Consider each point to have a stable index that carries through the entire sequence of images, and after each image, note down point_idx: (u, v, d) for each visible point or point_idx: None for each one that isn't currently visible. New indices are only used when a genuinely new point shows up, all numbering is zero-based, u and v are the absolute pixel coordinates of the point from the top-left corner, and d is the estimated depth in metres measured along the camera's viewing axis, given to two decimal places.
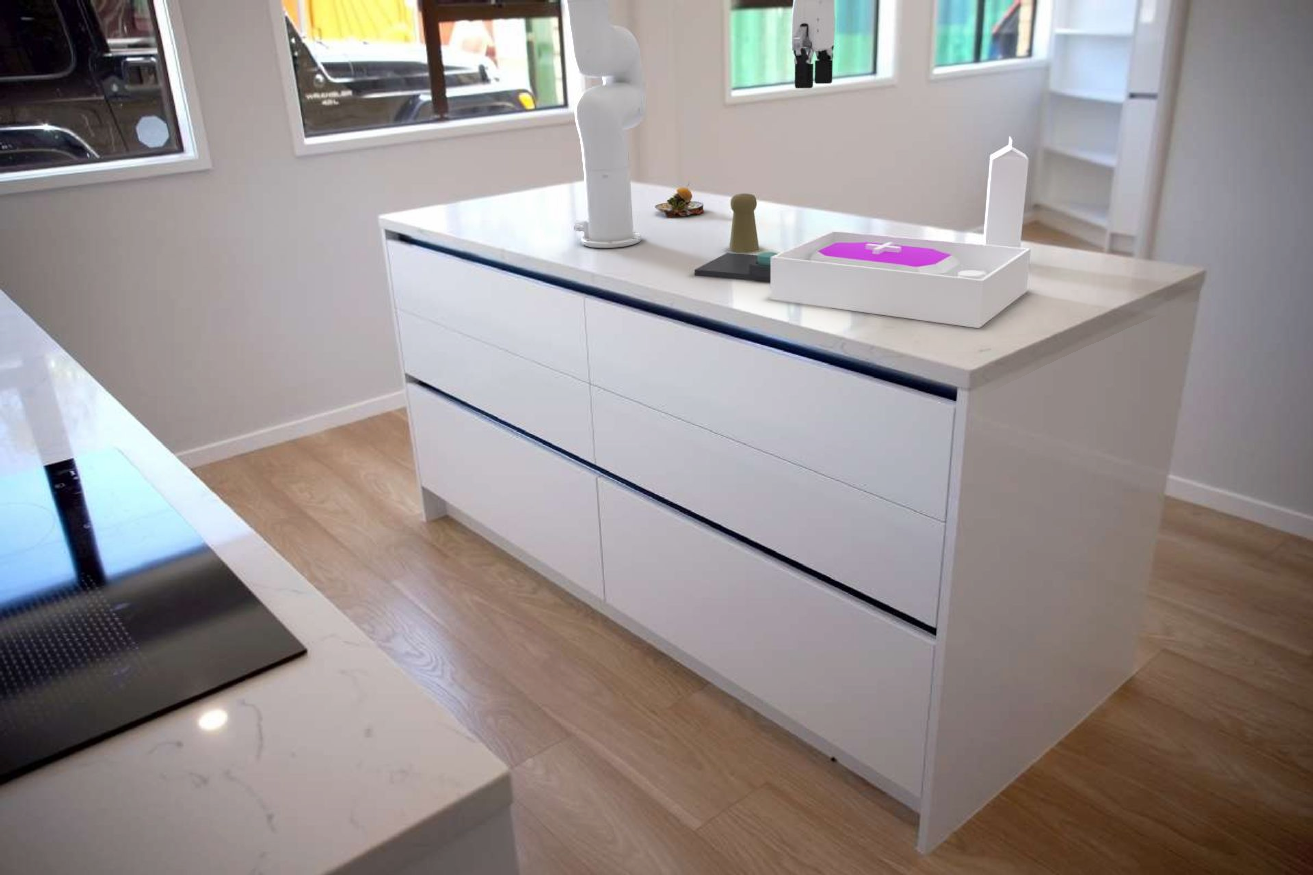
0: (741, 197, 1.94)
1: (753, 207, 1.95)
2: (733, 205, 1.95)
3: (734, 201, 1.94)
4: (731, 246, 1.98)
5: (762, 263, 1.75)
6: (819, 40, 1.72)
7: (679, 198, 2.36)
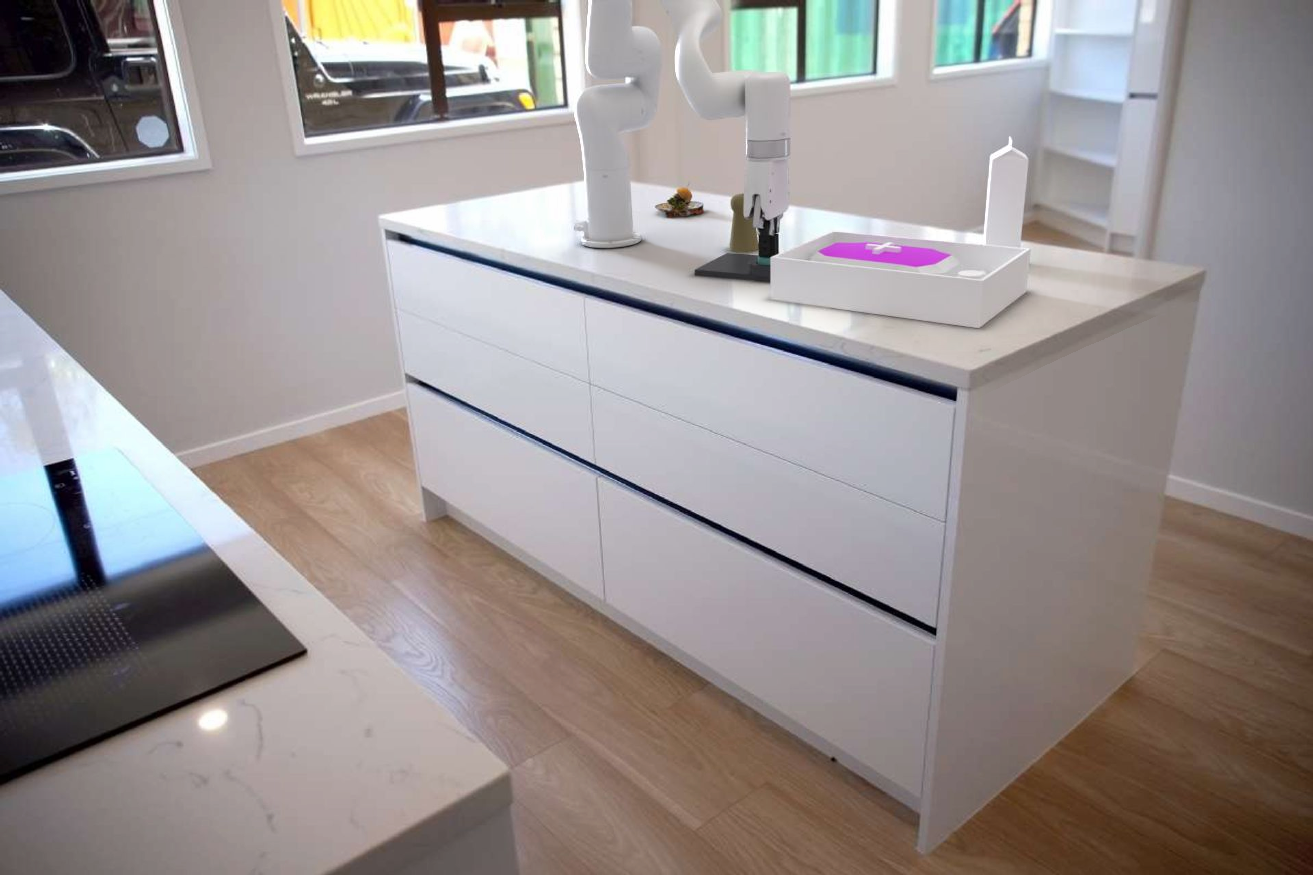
0: (741, 197, 1.94)
1: None
2: (733, 205, 1.95)
3: (734, 201, 1.94)
4: (731, 246, 1.98)
5: None
6: (772, 209, 1.69)
7: (679, 198, 2.36)
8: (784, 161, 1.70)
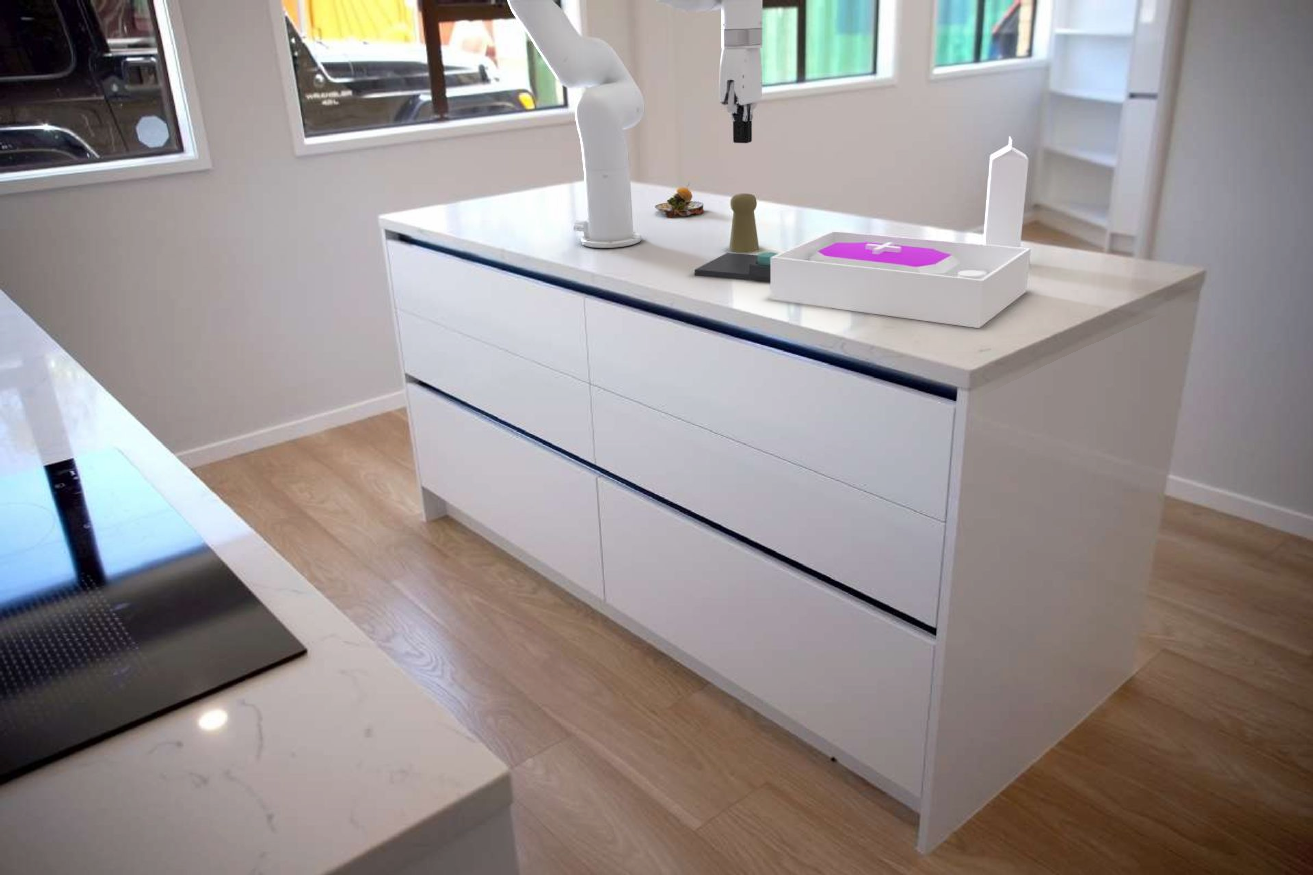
0: (741, 197, 1.94)
1: (753, 207, 1.95)
2: (733, 205, 1.95)
3: (734, 201, 1.94)
4: (731, 246, 1.98)
5: (762, 263, 1.75)
6: (745, 95, 1.84)
7: (679, 198, 2.36)
8: (757, 51, 1.85)
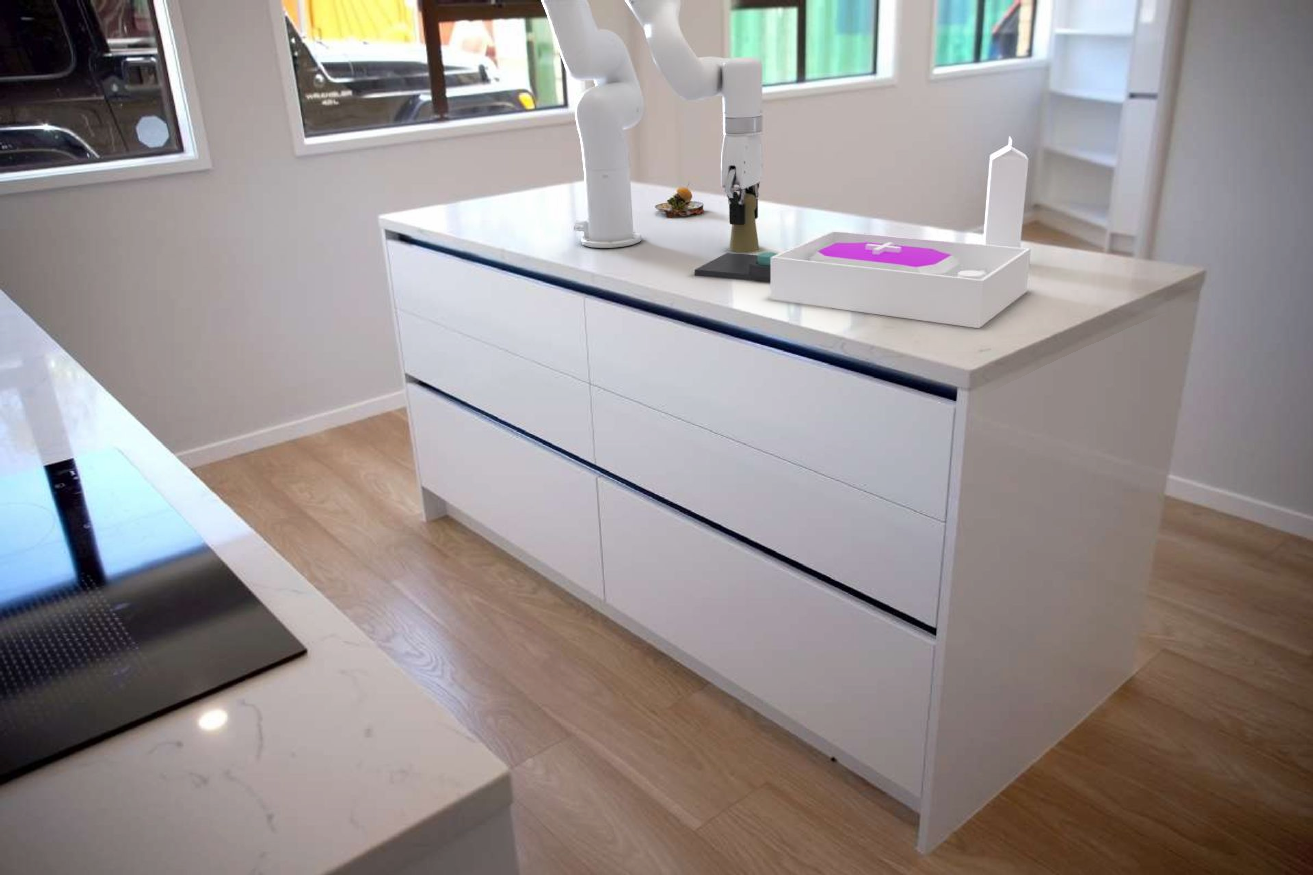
0: None
1: (753, 207, 1.95)
2: None
3: None
4: (731, 246, 1.98)
5: (762, 263, 1.75)
6: (746, 179, 1.90)
7: (679, 198, 2.36)
8: (757, 136, 1.91)
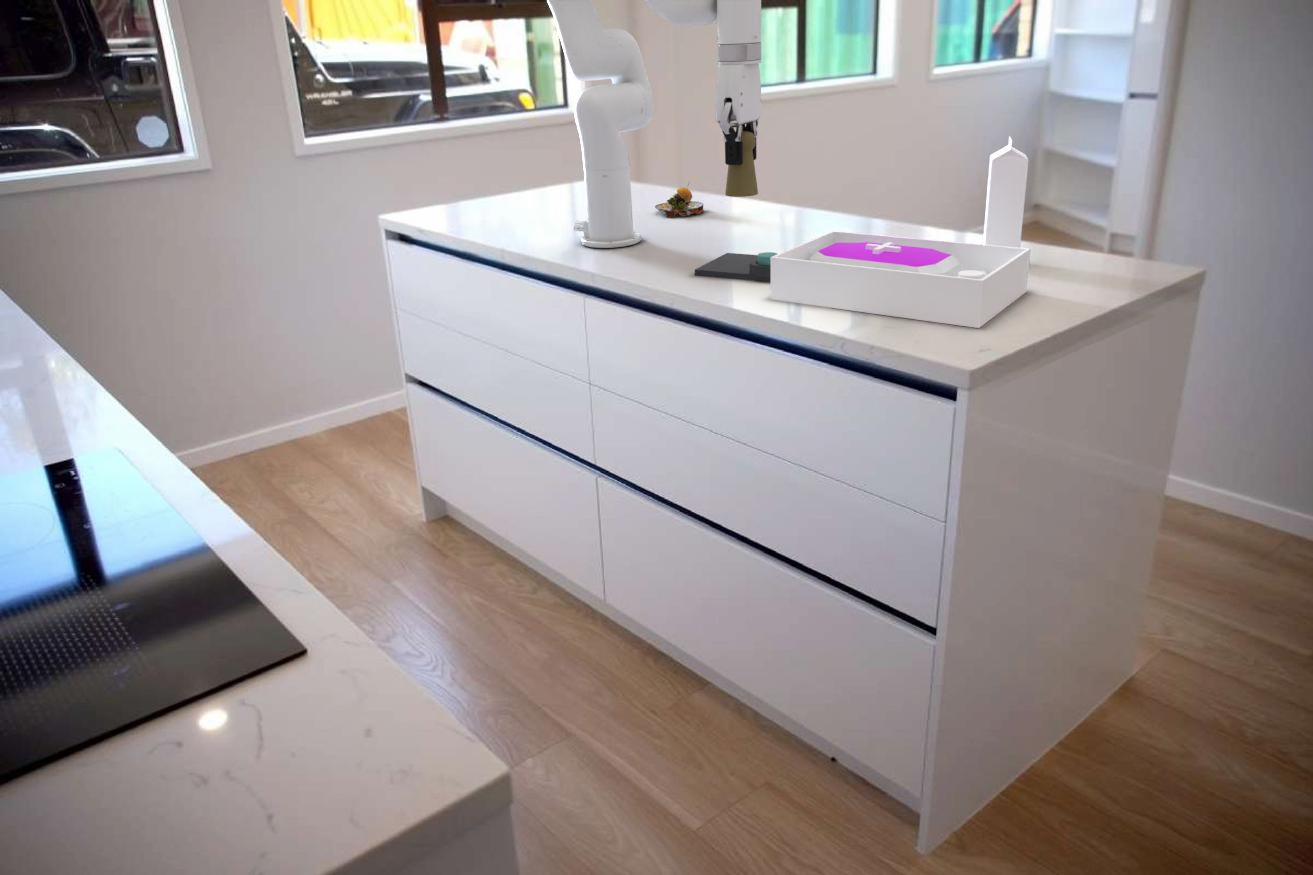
0: None
1: (751, 145, 1.77)
2: None
3: None
4: (727, 189, 1.81)
5: (762, 263, 1.75)
6: (743, 113, 1.73)
7: (679, 198, 2.36)
8: (755, 66, 1.73)
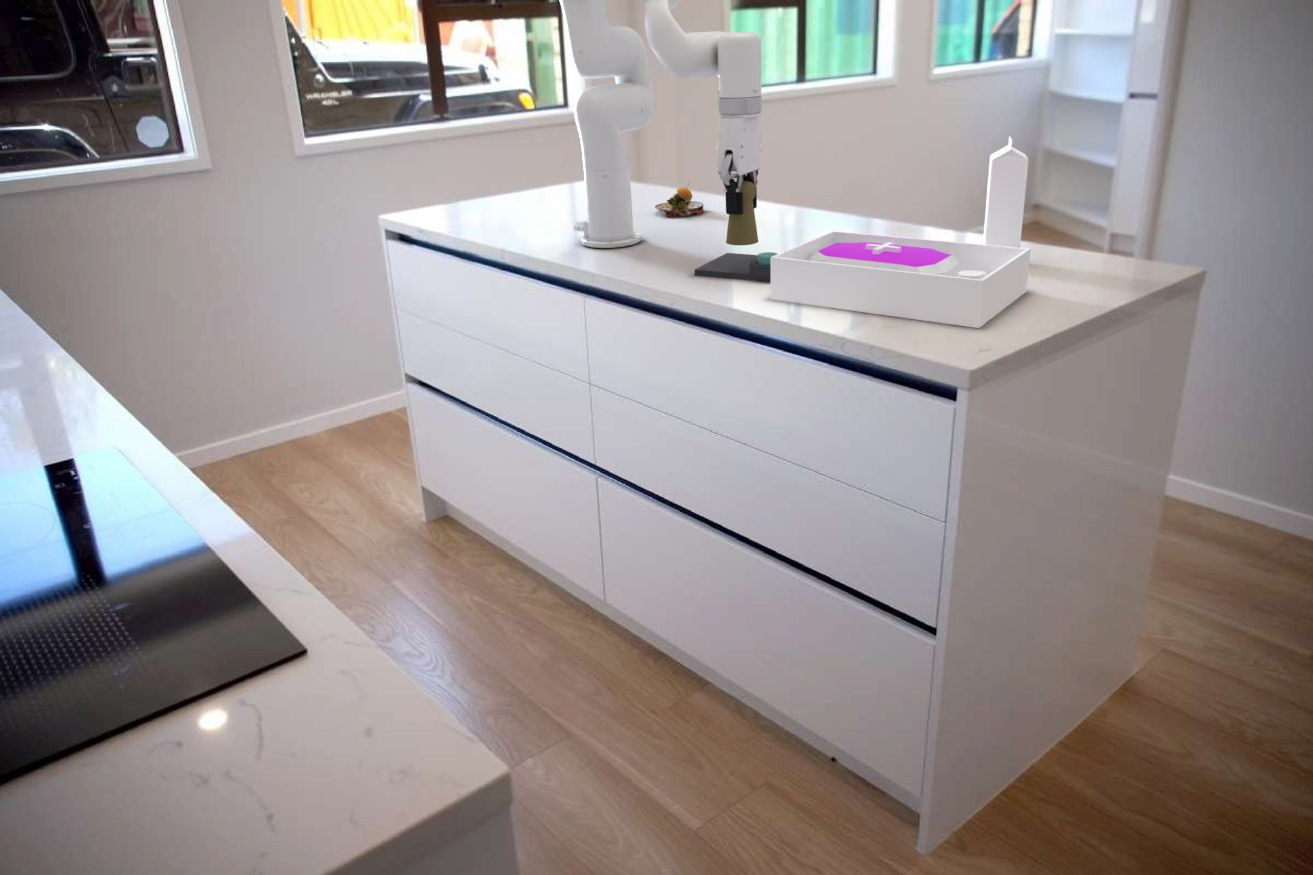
0: None
1: (752, 195, 1.80)
2: None
3: None
4: (728, 238, 1.84)
5: (762, 263, 1.75)
6: (744, 165, 1.76)
7: (679, 198, 2.36)
8: (756, 119, 1.76)
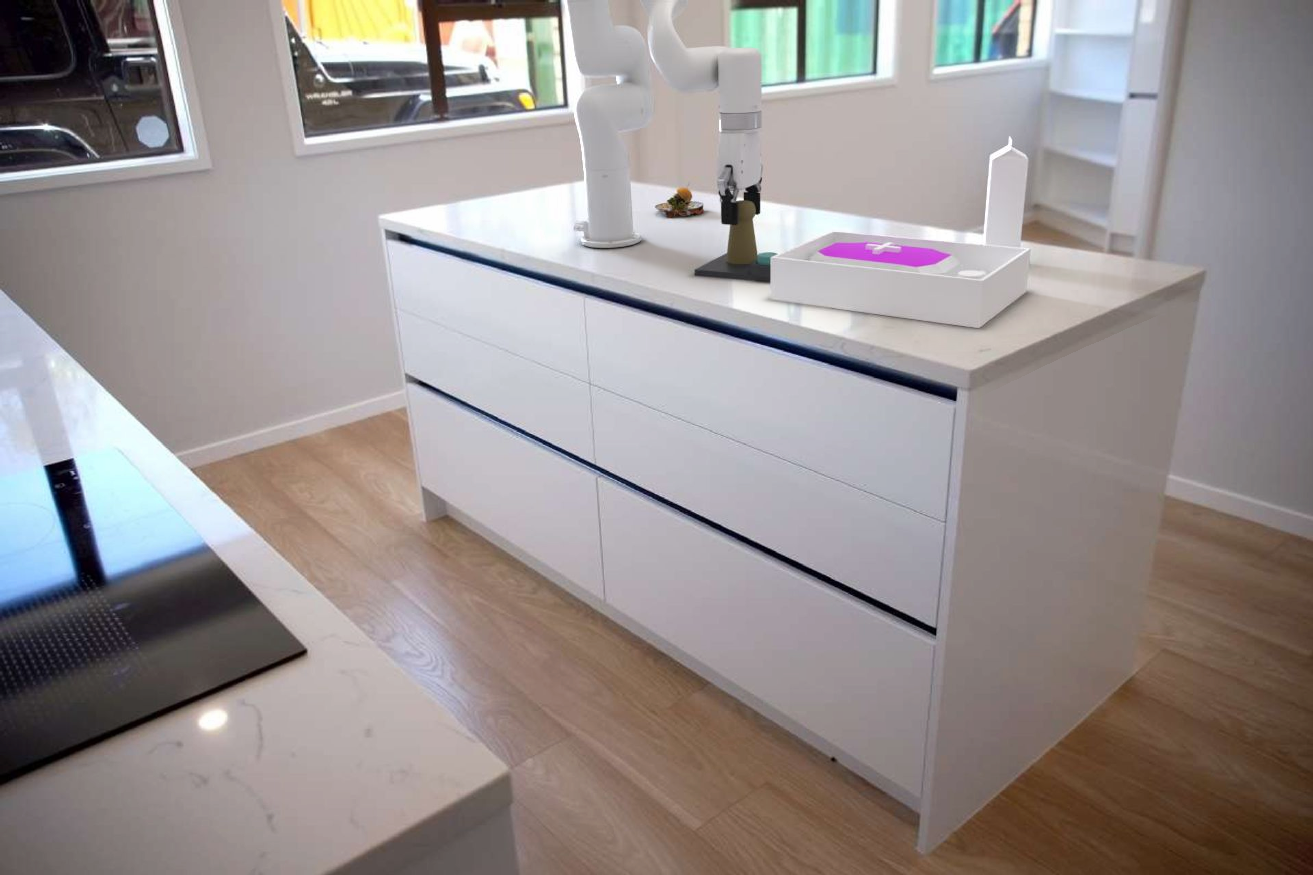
0: (739, 204, 1.81)
1: (752, 215, 1.81)
2: None
3: None
4: (728, 257, 1.85)
5: (762, 263, 1.75)
6: (744, 180, 1.77)
7: (679, 198, 2.36)
8: (756, 133, 1.77)
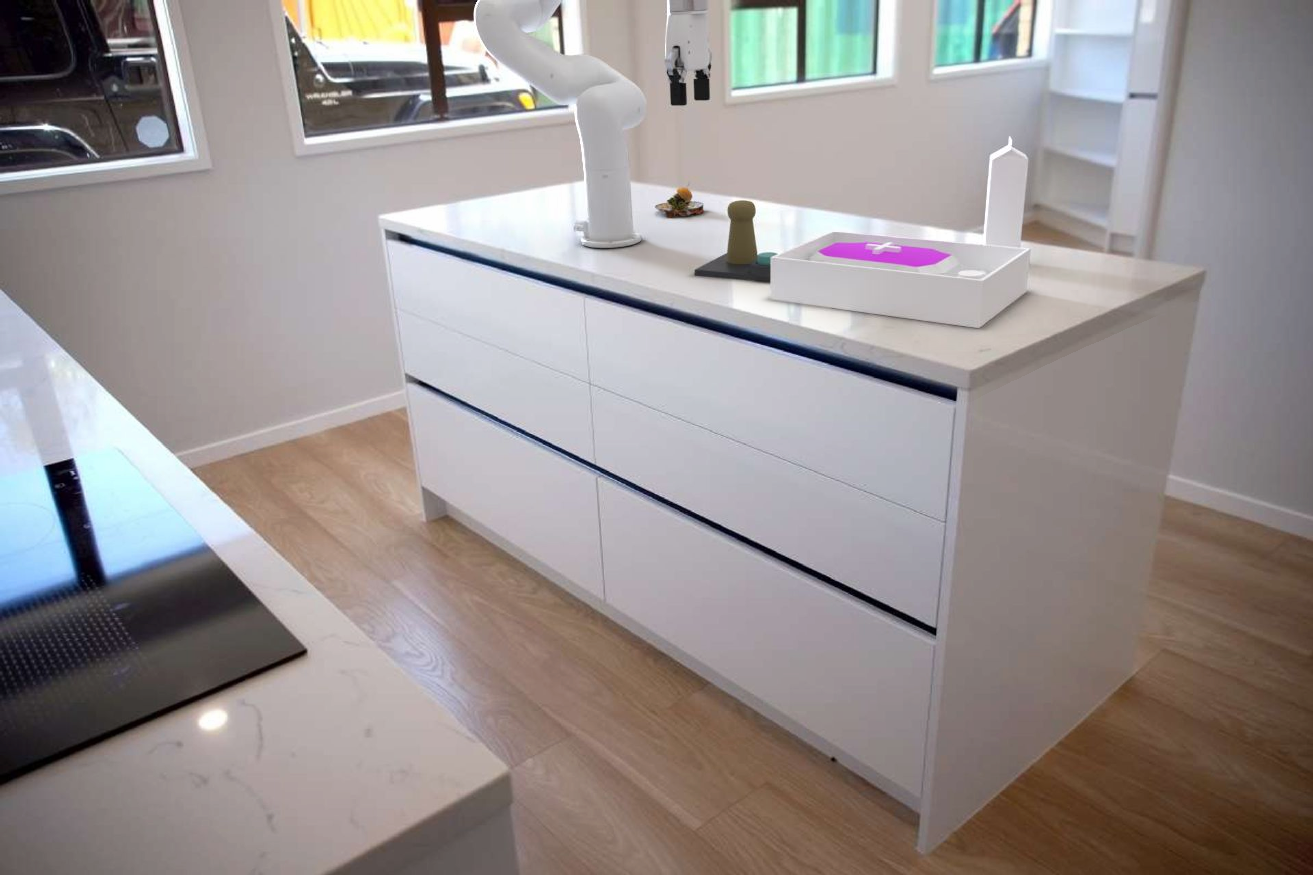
0: (739, 204, 1.81)
1: (752, 215, 1.81)
2: (731, 213, 1.81)
3: (731, 208, 1.81)
4: (728, 257, 1.85)
5: (762, 263, 1.75)
6: (691, 61, 1.85)
7: (679, 198, 2.36)
8: (703, 17, 1.85)
